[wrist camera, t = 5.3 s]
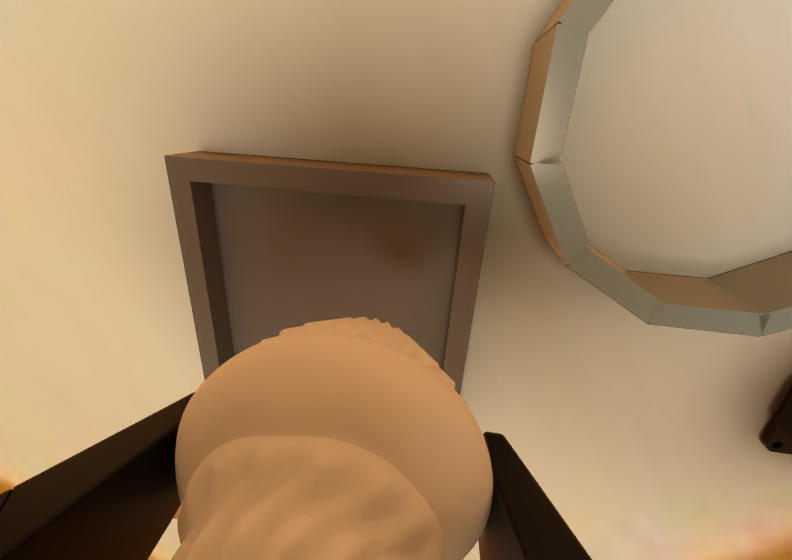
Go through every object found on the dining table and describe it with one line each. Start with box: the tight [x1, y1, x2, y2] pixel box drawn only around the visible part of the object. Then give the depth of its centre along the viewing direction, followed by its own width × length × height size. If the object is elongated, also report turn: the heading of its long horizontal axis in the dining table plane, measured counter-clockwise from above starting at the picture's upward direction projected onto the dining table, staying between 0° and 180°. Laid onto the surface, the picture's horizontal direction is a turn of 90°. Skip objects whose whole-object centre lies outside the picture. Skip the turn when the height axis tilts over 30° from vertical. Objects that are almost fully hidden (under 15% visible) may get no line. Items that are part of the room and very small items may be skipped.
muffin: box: [171, 317, 493, 560], centre depth 7 cm, size 6×6×7 cm
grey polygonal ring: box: [514, 0, 792, 337], centre depth 13 cm, size 16×16×4 cm
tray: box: [164, 151, 494, 395], centre depth 19 cm, size 14×14×2 cm
